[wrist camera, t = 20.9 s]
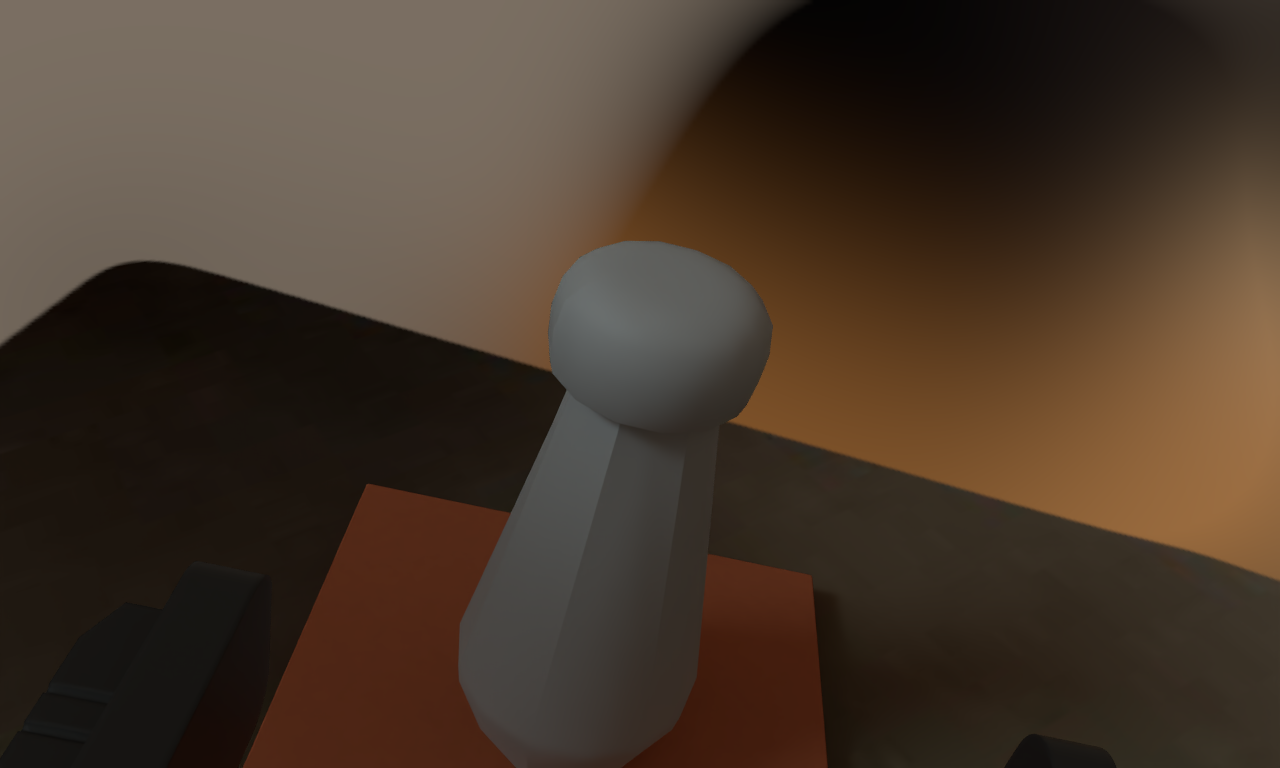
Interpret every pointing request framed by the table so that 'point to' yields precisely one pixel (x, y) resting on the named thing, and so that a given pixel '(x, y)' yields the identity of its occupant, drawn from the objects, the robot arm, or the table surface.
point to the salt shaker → (614, 511)
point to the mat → (429, 652)
